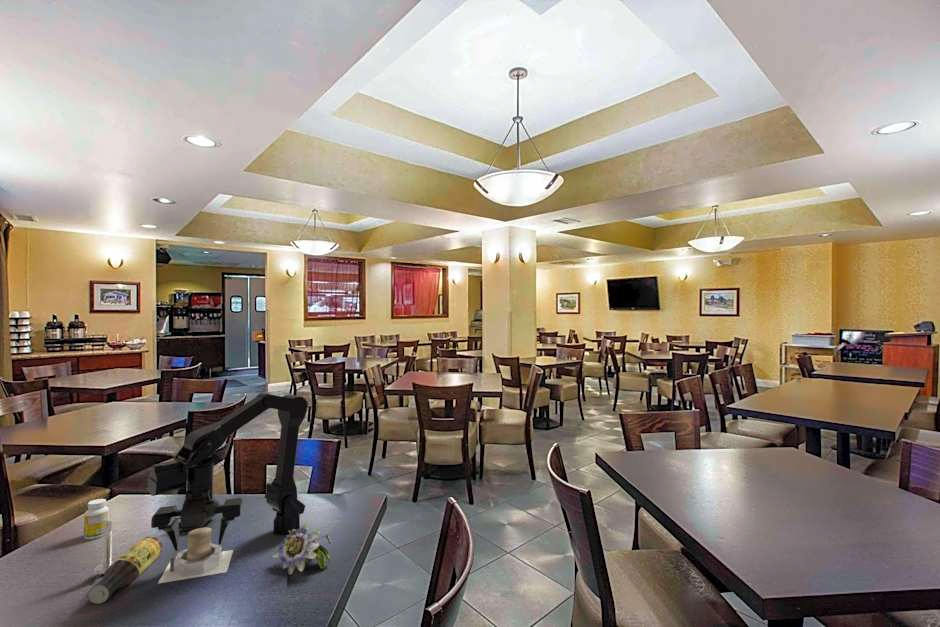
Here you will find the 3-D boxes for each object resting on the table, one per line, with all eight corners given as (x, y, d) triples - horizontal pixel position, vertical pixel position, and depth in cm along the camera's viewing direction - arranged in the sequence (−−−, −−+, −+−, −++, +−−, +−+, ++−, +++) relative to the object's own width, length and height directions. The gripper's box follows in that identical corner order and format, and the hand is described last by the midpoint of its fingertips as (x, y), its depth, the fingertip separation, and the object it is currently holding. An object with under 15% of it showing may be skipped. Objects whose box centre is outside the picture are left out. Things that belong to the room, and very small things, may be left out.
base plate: (233, 553, 117) (233, 549, 117) (226, 576, 106) (226, 571, 106) (171, 563, 112) (171, 559, 112) (157, 587, 101) (157, 583, 101)
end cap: (202, 534, 127) (202, 510, 127) (176, 534, 127) (177, 510, 127) (219, 518, 137) (220, 496, 137) (196, 519, 137) (196, 497, 137)
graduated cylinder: (124, 569, 109) (110, 580, 104) (103, 569, 108) (88, 581, 104) (125, 516, 109) (111, 525, 104) (104, 516, 109) (89, 525, 104)
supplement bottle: (104, 538, 124) (105, 503, 125) (80, 541, 122) (81, 506, 123) (111, 529, 129) (111, 496, 130) (88, 532, 127) (89, 499, 127)
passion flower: (291, 596, 108) (261, 558, 107) (311, 564, 118) (284, 529, 117) (326, 575, 105) (295, 536, 105) (343, 544, 116) (316, 508, 115)
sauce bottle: (169, 540, 114) (124, 587, 95) (155, 562, 114) (108, 615, 94) (144, 530, 113) (93, 576, 94) (130, 552, 113) (77, 603, 93)
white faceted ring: (223, 552, 115) (223, 540, 115) (216, 572, 106) (216, 559, 106) (176, 559, 112) (176, 547, 112) (165, 580, 103) (165, 567, 103)
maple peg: (212, 558, 112) (212, 526, 113) (209, 567, 108) (210, 534, 108) (189, 562, 110) (189, 529, 111) (185, 572, 106) (186, 537, 106)
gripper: (143, 500, 99) (142, 571, 98) (237, 490, 105) (236, 556, 105) (159, 483, 109) (158, 547, 109) (243, 474, 116) (242, 535, 115)
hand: (198, 546), depth 109 cm, fingers open, 9 cm apart
